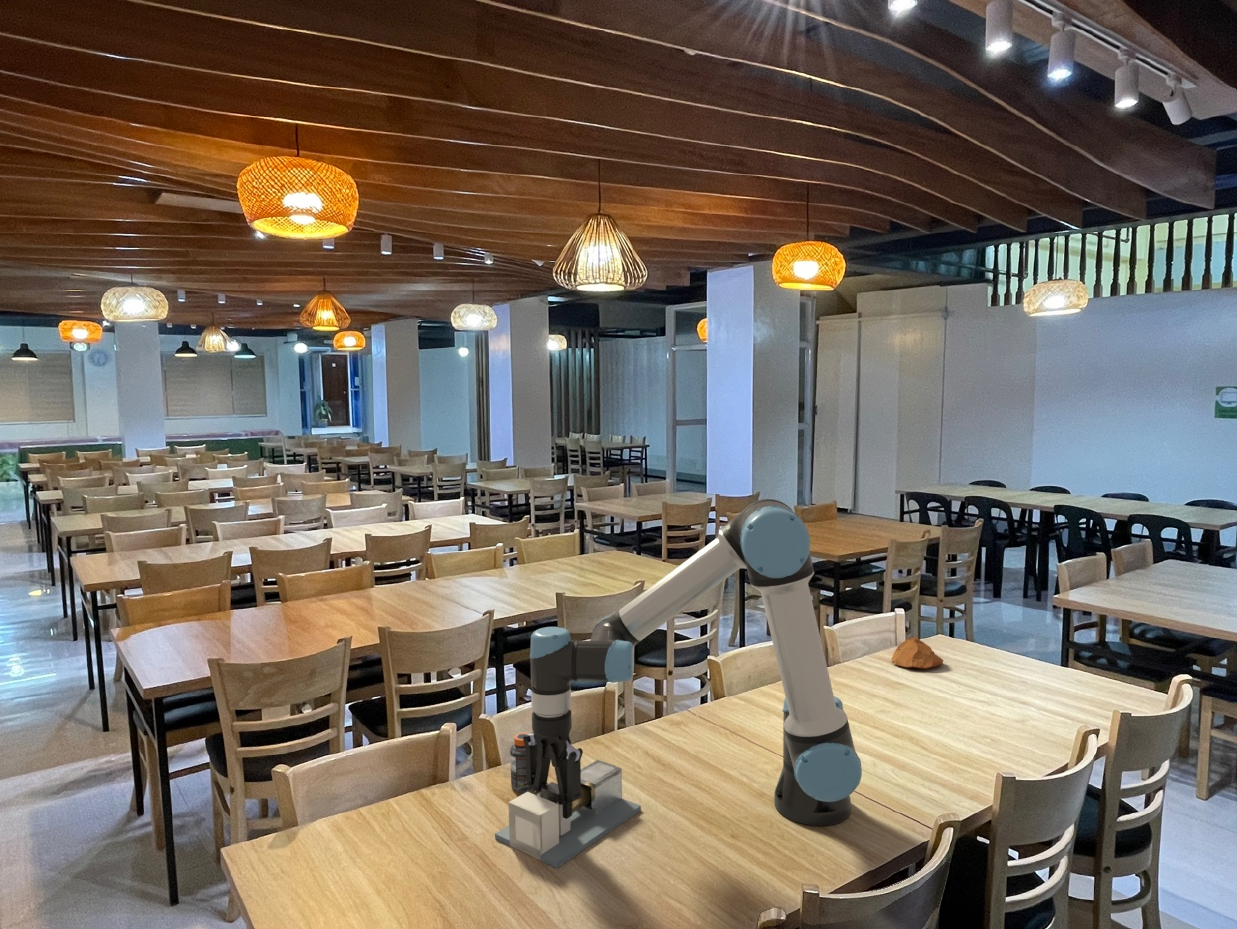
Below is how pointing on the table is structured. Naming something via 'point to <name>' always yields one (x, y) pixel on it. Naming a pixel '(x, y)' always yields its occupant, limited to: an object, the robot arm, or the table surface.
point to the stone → (915, 655)
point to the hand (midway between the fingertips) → (554, 827)
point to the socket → (533, 824)
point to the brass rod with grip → (553, 795)
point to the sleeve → (602, 785)
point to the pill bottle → (519, 765)
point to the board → (582, 831)
